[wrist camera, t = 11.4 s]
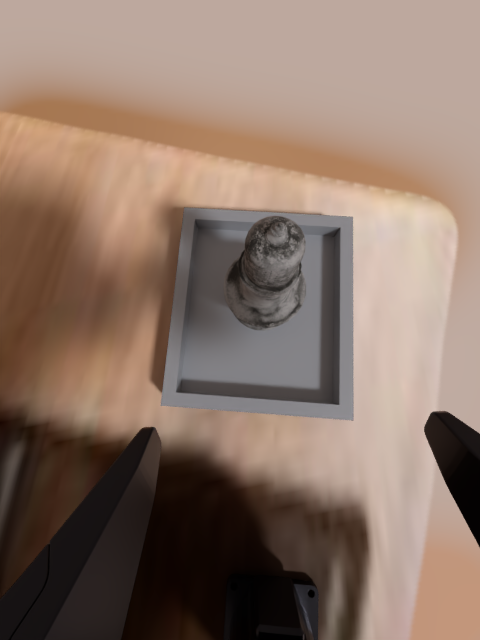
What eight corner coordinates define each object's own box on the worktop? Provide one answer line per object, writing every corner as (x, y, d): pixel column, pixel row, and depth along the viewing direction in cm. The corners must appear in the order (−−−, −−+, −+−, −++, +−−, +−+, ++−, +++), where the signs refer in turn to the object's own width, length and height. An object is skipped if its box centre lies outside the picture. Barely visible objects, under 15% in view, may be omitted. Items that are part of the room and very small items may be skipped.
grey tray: (341, 414, 22) (353, 420, 19) (169, 401, 22) (160, 405, 20) (342, 232, 25) (352, 216, 22) (190, 223, 25) (184, 207, 23)
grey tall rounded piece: (299, 332, 22) (361, 291, 10) (227, 335, 22) (208, 297, 10) (294, 264, 23) (345, 156, 11) (225, 267, 23) (206, 163, 11)
